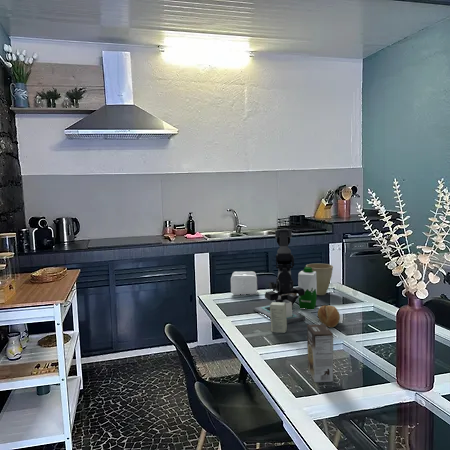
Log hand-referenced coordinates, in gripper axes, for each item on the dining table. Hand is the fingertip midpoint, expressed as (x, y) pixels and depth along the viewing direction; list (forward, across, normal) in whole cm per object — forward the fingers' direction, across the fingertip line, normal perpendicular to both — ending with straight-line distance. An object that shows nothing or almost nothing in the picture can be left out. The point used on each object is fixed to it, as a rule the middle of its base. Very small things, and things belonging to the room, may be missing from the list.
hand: (285, 311), depth 195 cm
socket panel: (+4, 0, -6) cm, 7 cm away
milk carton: (+4, -19, -9) cm, 21 cm away
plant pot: (+4, -40, -27) cm, 48 cm away
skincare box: (+4, +11, +12) cm, 17 cm away
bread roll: (+4, -13, +15) cm, 20 cm away
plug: (+2, 0, 0) cm, 2 cm away
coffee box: (+4, +21, +54) cm, 58 cm away
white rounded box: (+4, -4, -50) cm, 50 cm away
